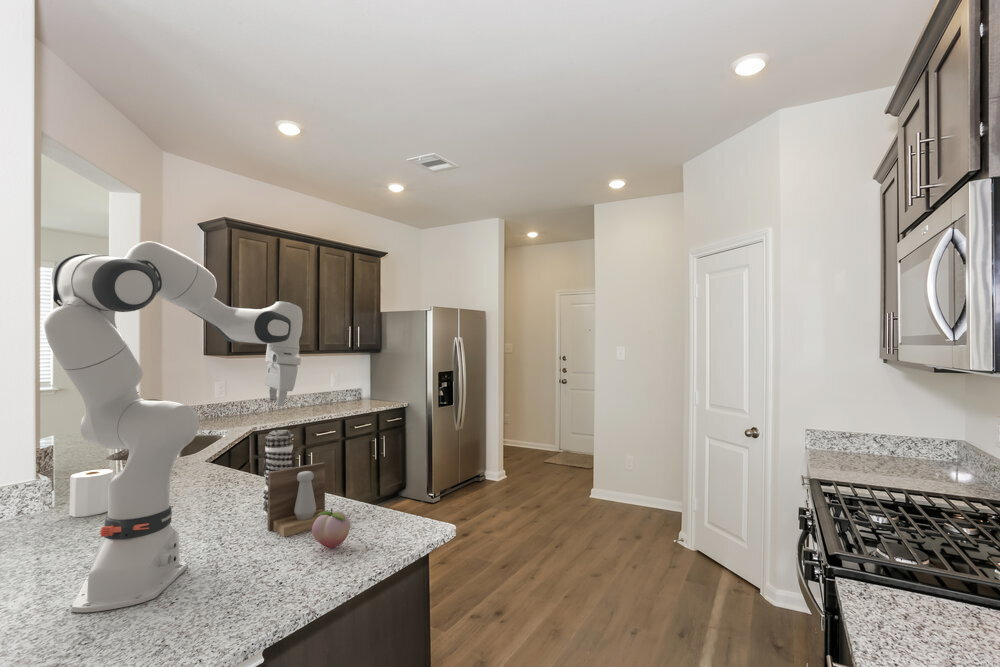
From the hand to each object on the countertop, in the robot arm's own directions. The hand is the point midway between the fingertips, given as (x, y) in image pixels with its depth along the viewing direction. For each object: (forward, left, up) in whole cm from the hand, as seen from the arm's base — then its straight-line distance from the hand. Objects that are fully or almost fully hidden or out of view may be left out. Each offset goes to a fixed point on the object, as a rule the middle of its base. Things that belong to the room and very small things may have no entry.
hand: (276, 404), depth 140 cm
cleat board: (-5, -8, -35) cm, 36 cm away
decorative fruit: (-25, -15, -35) cm, 45 cm away
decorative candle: (+10, 0, -35) cm, 36 cm away
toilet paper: (+32, +55, -35) cm, 73 cm away
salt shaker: (-6, -8, -32) cm, 34 cm away
